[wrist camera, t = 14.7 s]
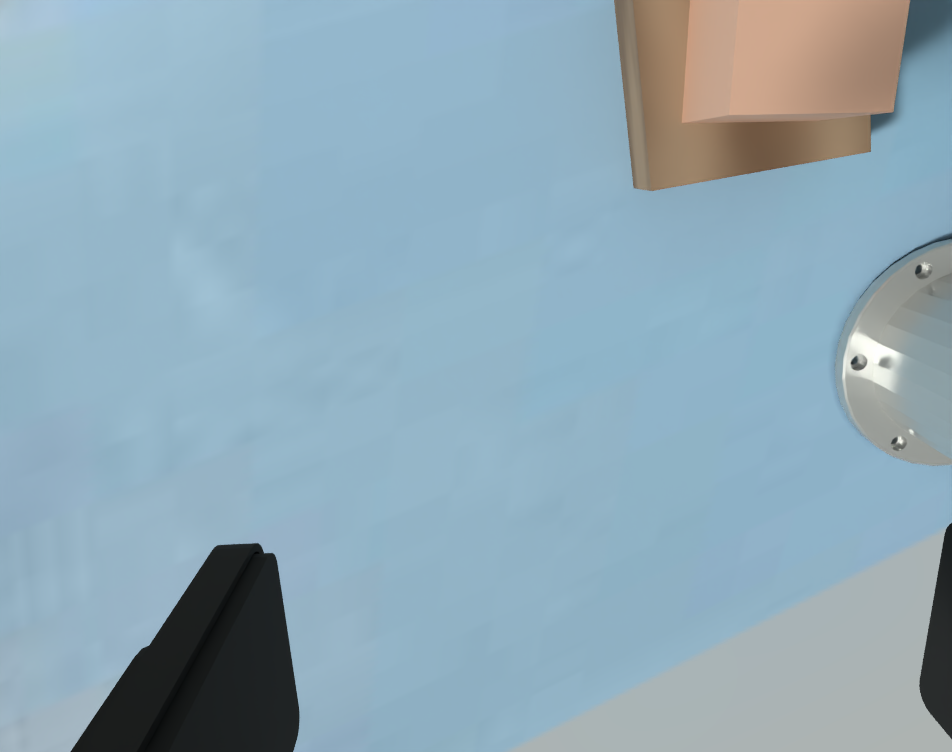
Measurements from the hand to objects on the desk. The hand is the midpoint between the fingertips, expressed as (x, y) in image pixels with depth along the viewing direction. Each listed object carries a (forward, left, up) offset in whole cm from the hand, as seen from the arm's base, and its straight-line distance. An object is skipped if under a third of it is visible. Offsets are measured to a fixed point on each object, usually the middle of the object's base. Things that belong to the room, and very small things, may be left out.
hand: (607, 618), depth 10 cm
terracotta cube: (-11, -10, -25) cm, 29 cm away
